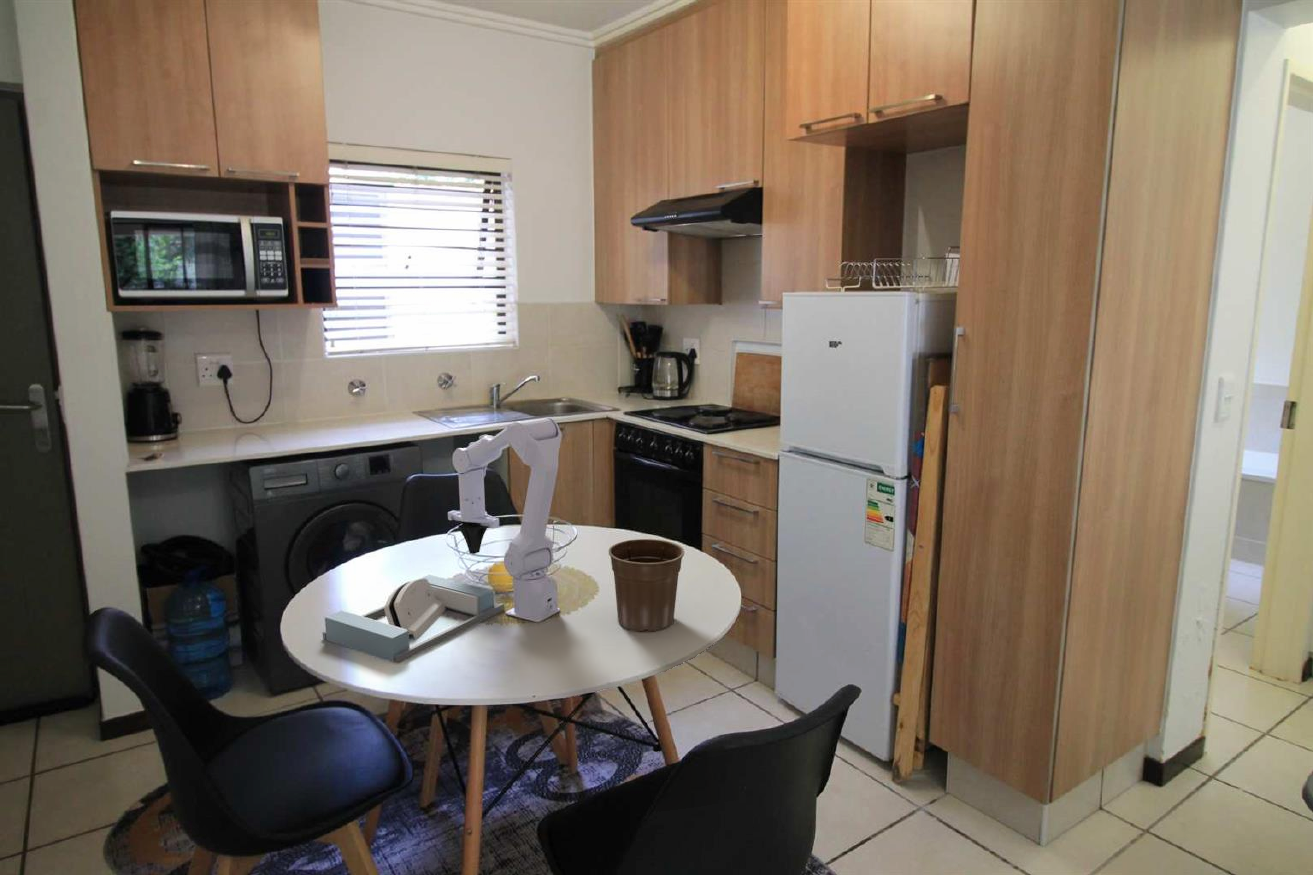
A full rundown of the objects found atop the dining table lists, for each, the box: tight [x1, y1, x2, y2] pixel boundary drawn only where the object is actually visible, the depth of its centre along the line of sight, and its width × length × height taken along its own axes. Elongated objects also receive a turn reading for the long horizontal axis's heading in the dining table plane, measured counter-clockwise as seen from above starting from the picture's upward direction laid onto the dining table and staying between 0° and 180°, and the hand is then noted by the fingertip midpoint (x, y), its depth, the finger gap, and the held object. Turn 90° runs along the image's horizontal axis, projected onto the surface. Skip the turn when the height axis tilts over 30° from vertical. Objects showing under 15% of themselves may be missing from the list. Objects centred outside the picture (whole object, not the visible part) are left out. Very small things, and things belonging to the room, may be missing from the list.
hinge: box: [383, 578, 447, 640], centre depth 170 cm, size 17×5×10 cm, turn 174°
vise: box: [322, 603, 505, 664], centre depth 170 cm, size 22×30×5 cm
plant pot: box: [607, 538, 685, 632], centre depth 170 cm, size 16×16×16 cm
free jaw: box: [419, 574, 495, 617], centre depth 179 cm, size 20×4×5 cm, turn 59°
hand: (474, 552), depth 188 cm, fingers closed
